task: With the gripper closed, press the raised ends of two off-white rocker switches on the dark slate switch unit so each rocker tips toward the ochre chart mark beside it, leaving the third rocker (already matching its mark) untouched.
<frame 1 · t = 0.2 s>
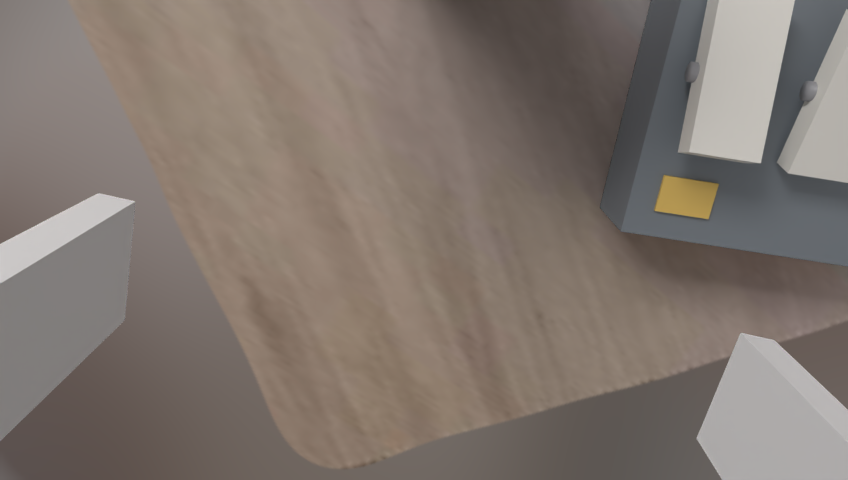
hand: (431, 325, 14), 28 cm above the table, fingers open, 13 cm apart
rocker a: (733, 77, 33), point 7 cm above the table, hinge at -12.0°
switch unit: (784, 85, 39), on the table
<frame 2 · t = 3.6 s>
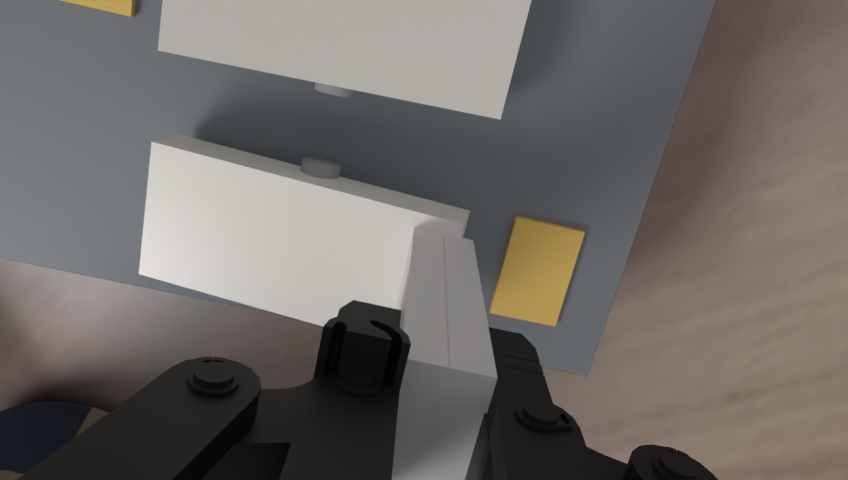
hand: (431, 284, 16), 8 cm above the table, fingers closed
rocker a: (303, 241, 17), point 7 cm above the table, hinge at -9.7°, touching gripper
switch unit: (369, 8, 22), on the table
rocker b: (351, 5, 16), point 7 cm above the table, hinge at 12.0°
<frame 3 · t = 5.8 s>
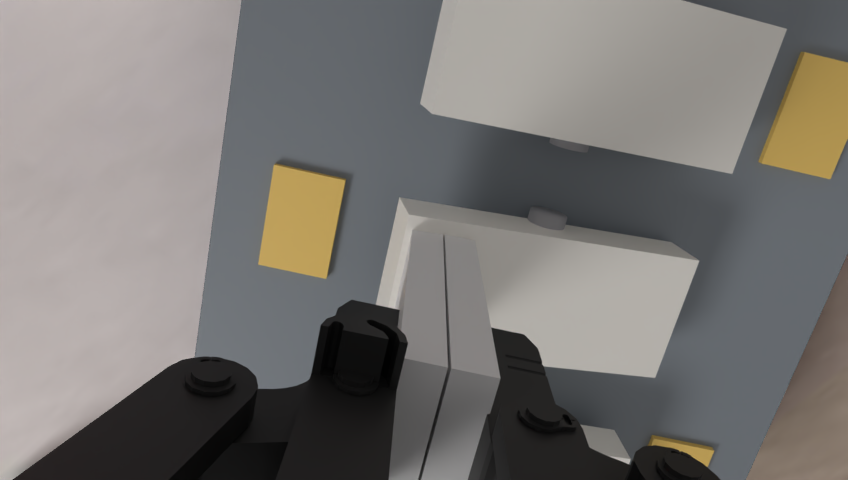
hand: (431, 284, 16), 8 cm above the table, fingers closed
rocker c: (598, 66, 16), point 7 cm above the table, hinge at 12.0°
rocker a: (476, 472, 20), point 7 cm above the table, hinge at 4.7°
switch unit: (504, 220, 24), on the table
rocker b: (532, 289, 18), point 7 cm above the table, hinge at 11.9°, touching gripper
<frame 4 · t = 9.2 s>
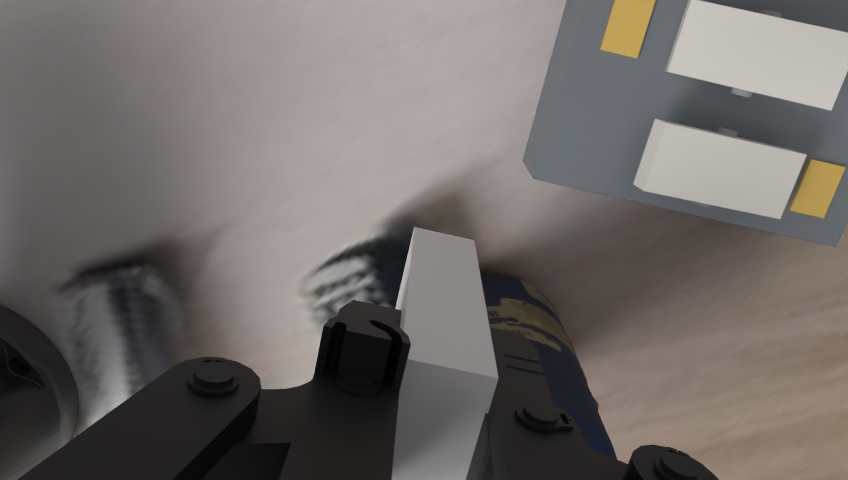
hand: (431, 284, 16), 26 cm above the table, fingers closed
rocker a: (717, 168, 35), point 7 cm above the table, hinge at 6.1°
switch unit: (708, 49, 40), on the table
rocker b: (757, 54, 34), point 7 cm above the table, hinge at -13.4°
canister: (490, 330, 46), on the table
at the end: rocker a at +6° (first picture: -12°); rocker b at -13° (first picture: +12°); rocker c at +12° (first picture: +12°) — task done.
